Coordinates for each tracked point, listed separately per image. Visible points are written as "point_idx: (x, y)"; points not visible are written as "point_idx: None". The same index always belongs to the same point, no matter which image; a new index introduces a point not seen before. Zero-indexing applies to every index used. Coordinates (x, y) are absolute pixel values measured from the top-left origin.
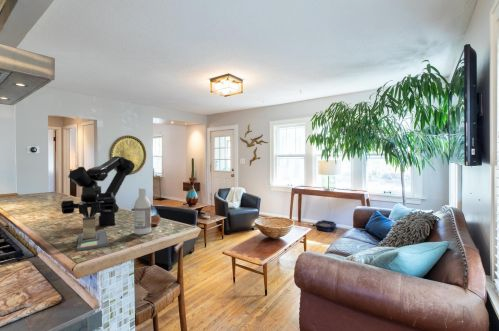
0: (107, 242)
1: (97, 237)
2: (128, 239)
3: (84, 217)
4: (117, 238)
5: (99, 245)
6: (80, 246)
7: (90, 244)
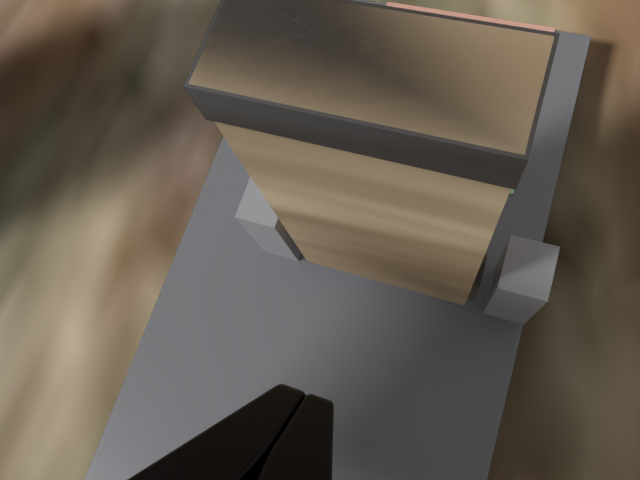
0: None
1: None
2: (52, 85)
3: (480, 142)
4: (98, 207)
5: None
6: None
7: None
